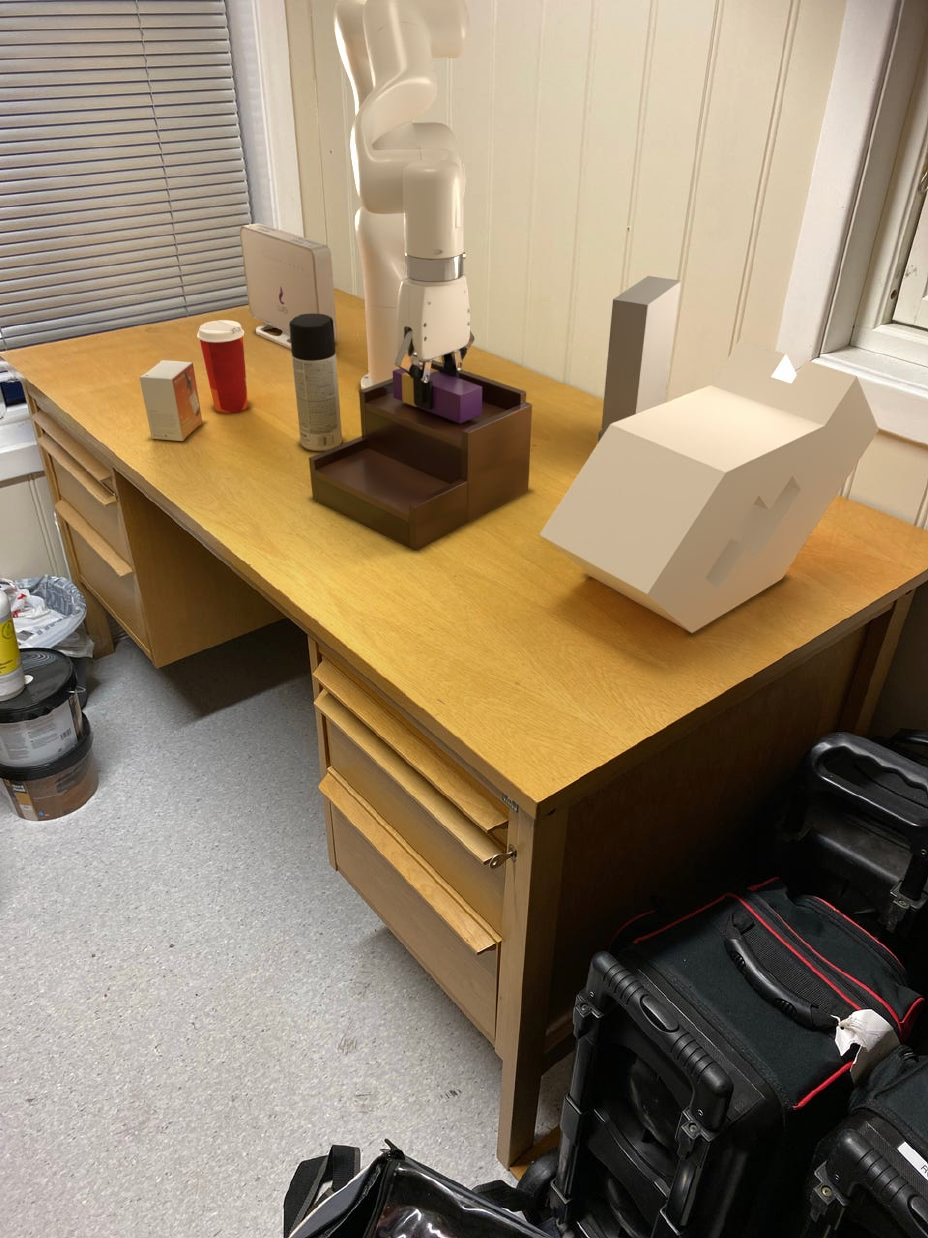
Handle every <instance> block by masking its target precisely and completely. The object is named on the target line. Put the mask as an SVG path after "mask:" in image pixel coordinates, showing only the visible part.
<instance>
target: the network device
mask: <svg viewBox="0 0 928 1238" xmlns="http://www.w3.org/2000/svg"><path fill="white" fill-rule="evenodd" d="M239 240H240V247H241V255H242V263H243V271H244V279H245V287H246V294H247V302H248V303H247V304H248V309H249V313H250V315H251V317H252V318H253V319H255V320H258V321H260V322H262V323H264V324H263V325H259V326H257V327H256V328H255V333H256V335H258V336H260V337H262V338H265V339H266V340H269V341H271V342H273V343H276V344H278V345H281V346H283V347H284V348H287V349H289V350H291V339H290V327H289V323H290V321H292V319H293V318H295V317H297V316H299V315H301V314H311V313H314V314H324V315H327V316H329V317H331V318H332V319H333V326H334V338H335V341H337V339H338V326H337V316H336V315H337V313H336V302H335V300H336V299H335V289H334V274H333V263H332V261H333V260H332V253H331V252H332V251H331V249H330V247H329V245H327V244H325V243H322V242H318V241H315V240H313V239H309V238H307V237H303V236H300V235H297V234H294V233H291V232H288V231H286V230H285V231H284V230H282V229H278V228H276V227H272V226H269V225H266V224H264V223H259V222H256V223H252V224H251V223H250V224H247V225H246V224H245V225H241V226H240V227H239ZM274 328H277V329H278V330H281V331H282V332H281V334H280V335H273V334H271V333H268V332H266V331H267V330H271V329H274Z"/></svg>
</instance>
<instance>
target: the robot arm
mask: <svg viewBox="0 0 928 1238" xmlns="http://www.w3.org/2000/svg"><path fill="white" fill-rule="evenodd" d="M469 17H470V16H469V11H468V7H467V4H466V2H465V0H337V1H336V2H335V5H334V8H333V28H334V30H333V31H334V35H335V41H336V45H337V49H338V53H339V55H340V58H341V61H342V63H343V66H344V69H345V71H346V74H347V76H348V78H349V82H350V85H351V88H352V91H353V92H352V93H353V98H354V110H355V117H354V119H353V123H352V126H351V132H350V157H351V163H352V170H353V176H354V183H355V189H356V193H357V197H358V200H359V202H360V204H361V206H360V207H359V208H358V209H357V211H356V214H355V216H354V232H355V238H356V243H357V248H358V252H359V258H360V264H361V272H362V281H363V282H362V283H363V298H364V313H365V315H364V316H365V330H366V331H365V333H366V351H367V366H368V372H367V373H366V374H364V376H362V377H361V379H360V389H361V390H362V389H365V388H367V387H370V386H373V385H375V384H378V383H381V382H384V381H386V380H389V379H392V378H393V371H394V370H396V369H399V368H401V369H403V370H404V371H405V372H406V373H408V374H409V377H410V378H412V379H413V390H414V404H415V405H417V406H419V407H422V408H425V409H427V410H430V409H432V408H433V383H432V381H429V378H430V371H431V364H432V360H435V361H438V362H441V363H443V365H444V366H440V370H439V372H442V373H445V374H448V375H451V376H453V377H456V378H459V371H458V370H461V369H462V368H463V361H464V358H465V357H466V355H467V353H468V350H469V349H470V347H471V346H472V345H473V343H474V342H475V336H474V334H473V332H472V331H471V309H470V306H471V305H470V296H469V289H468V282H467V277H466V274H465V272H464V270H465V268H464V267H465V266H464V265H465V264H464V263H465V260H466V252H465V251H464V249H465V247H464V245H465V242H464V241H465V240H464V239H465V237H464V236H465V223H464V221H465V217H464V215H465V212H464V211H465V209H464V208H465V206H464V205H465V198H464V197H465V194H466V188H467V175H466V173H467V172H466V166H465V164H464V162H462V161H461V159H460V156H459V148H458V143H457V139H456V137H455V134H454V132H453V130H452V129H451V127H449V126H448V125H447V124H444V123H443V122H442V123H441V122H436V121H435V122H413V120H414V119H415V120H416V119H417V118H418V117H420V116H422V115H423V114H425V112H427V111H428V110H429V109H430V108H431V106H432V105H433V104H434V102H435V101H436V97H437V94H438V80H437V79H438V78H437V76H436V75H437V74H436V70H435V65H434V60H433V59H439V58H440V59H441V58H442V59H444V58H447V59H455V58H456V59H457V58H459V57H461V56H462V55H463V54H464V53H465V52H466V49H467V47H468V44H469V39H470V30H471V29H470V27H471V26H470V18H469ZM404 264H405V265H404ZM440 357H441V358H440ZM440 359H441V360H440ZM419 365H422V370H421V369H420V368H419Z"/></svg>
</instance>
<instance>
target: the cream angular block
mask: <svg viewBox="0 0 928 1238" xmlns="http://www.w3.org/2000/svg"><path fill="white" fill-rule="evenodd" d="M879 430H880V428H879V426H878V423H877V422H876V419H875V416H874V414H873V412H872V410H871V407H870V405H869V402H868V399H867V397H866V395H865V393H864V390H863V388H862V385H861V383H860V380H859V378H858V376H857V375H855V374H851V373H848V372H845V371H842V370H838V369H836V368H832V367H829V366H826V365H822V364H819V363H816V362H813V361H810V360H806V359H805V361H804V363H803V364H802V366H801V367H800V369H799V370H798V371H797V373H796V371H795V369H794V367H793V365H792V363H791V361H790V359H789V357H788V355H787V354H786V353H783V352H781V351H778V350H774V349H771V348H769V347H764V346H761V345H758V344H755V343H751V342H748V341H746V340H742V339H739V340H738V341H737V343H736V345H735V346H734V348H733V349H732V351H731V352H730V354H729V356H728V357H727V359H726V360H725V362H724V363H723V365H722V366H721V368H720V370H719V371H718V373H717V374H716V375H715V377H714V379H713V381H712V382H711V383H710V384H709V385H707V386H705V387H702V388H700V389H696V390H695V391H691V392H689V393H687V394H684V395H682V396H679V397H677V398H674V399H671V400H668V401H665V403H663V404H661V405H658V406H656V407H653V408H650V409H648V410H645V411H643V412H640V413H638V414H635V415H632V416H630V417H627V418H625V419H622V420H620V421H617V422H614V423H612V424H610V425H609V427H608V429H607V430H606V432H605V433H604V435H603V436H602V438H601V439H600V441H599V443H598V444H596V446H595V447H594V449H593V450H592V452H591V453H590V455H589V457H588V459H587V460H586V461H585V463H584V464H583V466H582V467H581V469H580V470H579V472H578V474H577V475H576V477H575V479H574V480H573V481H572V482H571V485H570V486H569V487H568V489H567V491H566V493H565V494H564V495H563V497H562V499H561V501H560V502H559V504H558V505H557V506H556V508H555V509H554V511H553V513H552V514H551V515H550V517H549V519H548V521H547V522H546V523H545V525H544V527H543V528H542V530H541V531H540V533H539V536H540V537H541V538H542V539H544V540H545V541H546V542H547V543H548V544H550V545H551V546H552V547H553V548H555V549H556V550H557V551H558V552H559V553H561V554H562V555H563V556H565V558H567V559H568V560H569V561H571V563H573V564H574V565H575V566H577V567H578V568H579V569H581V570H582V571H583V572H584V573H585V574H586V575H587V576H589V577H591V578H592V579H594V580H596V581H598V582H599V583H601V584H603V585H605V586H607V587H608V588H611V589H612V590H614V591H616V592H618V593H619V594H621V595H623V596H625V597H627V598H628V599H630V600H631V601H634V602H635V603H637V604H639V605H640V606H643V607H644V608H645V609H648V610H650V611H652V612H653V613H654V614H657V615H658V616H660V617H662V618H663V619H666V621H667V620H668V621H669V622H671V623H673V624H675V625H676V626H679V627H680V628H682V629H684V630H685V631H687V632H689V633H691V634H693V633H695V632H696V631H698V630H699V629H702V628H703V627H705V626H706V625H709V624H710V623H712V622H713V621H715V620H716V619H718V618H720V617H722V616H723V615H725V614H727V613H728V612H730V611H731V610H733V609H734V608H736V607H738V606H740V605H741V604H743V603H744V602H746V601H749V599H751V598H753V597H754V596H756V595H758V594H759V593H761V592H763V591H764V590H766V589H767V588H770V587H771V586H773V585H774V584H776V583H778V582H779V581H781V580H782V579H784V577H785V575H786V573H787V572H788V571H789V570H790V567H791V566H792V565H793V563H794V561H795V560H796V558H797V556H798V555H799V553H800V552H801V551H802V549H803V548H804V546H805V544H806V542H808V540H809V538H810V537H811V535H812V533H813V532H814V530H815V529H816V527H817V526H818V524H819V523H820V521H821V520H822V518H823V517H824V516H825V514H826V512H827V511H828V509H829V508H830V506H831V504H832V503H833V501H834V500H835V499H836V497H837V495H838V494H839V492H840V491H841V489H842V487H844V484H845V483H846V481H847V480H848V478H849V477H850V475H851V473H852V472H853V471H854V469H855V467H856V466H857V465H858V463H859V461H860V460H861V459H862V457H863V455H864V454H865V452H866V450H867V449H868V448H869V446H870V444H871V443H872V441H873V440H874V439H875V437H876V436H877V434H878V432H879Z"/></svg>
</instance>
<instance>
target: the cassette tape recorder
mask: <svg viewBox="0 0 928 1238" xmlns="http://www.w3.org/2000/svg"><path fill="white" fill-rule="evenodd" d="M681 285H682V280H678V279H671V278H665V277H658V276H654V275H653V276H652V275H647V276H646V277H644V278H643V279H641V280H639V281H638V282H636V283H635V284H634V285H632V286H630V287H629V288H628V289H626V290H624V291H623V292H622V293H620V294H619V295H617V296H616V297H614V298H613V299H612V305H611V306H612V307H611V317H610V328H609V338H608V339H609V340H608V350H607V361H606V371H605V384H604V393H603V407H602V415H601V416H602V417H601V426H600V428H601V429H600V430H598V433H597V444H598V443H599V441H600V439H601V438H602V436H603V435H604V433H605V432H606V430H607V429H608V427H609V425H610V424H612V423H614V422H617V421H620V420H622V419H625V418H627V417H630V416H632V415H635V414H638V413H640V412H643V411H645V410H648V409H650V408H653V407H656V406H658V405H661V404H663V403H666V402H667V393H668V384H669V378H670V370H671V364H672V363H671V361H672V355H673V354H672V353H673V347H674V339H675V332H676V331H675V330H676V323H677V315H678V307H679V300H680V292H681ZM597 444H596V445H597Z"/></svg>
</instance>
